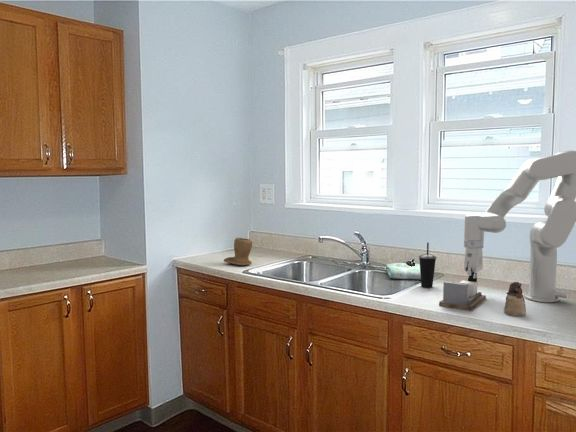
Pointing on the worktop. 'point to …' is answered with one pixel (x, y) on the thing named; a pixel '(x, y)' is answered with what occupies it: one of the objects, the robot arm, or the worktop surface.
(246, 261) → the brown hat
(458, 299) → the grey rectangular block
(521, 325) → the worktop surface
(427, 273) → the drinking cup
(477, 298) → the base
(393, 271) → the towel
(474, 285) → the gauge carriage
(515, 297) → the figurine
